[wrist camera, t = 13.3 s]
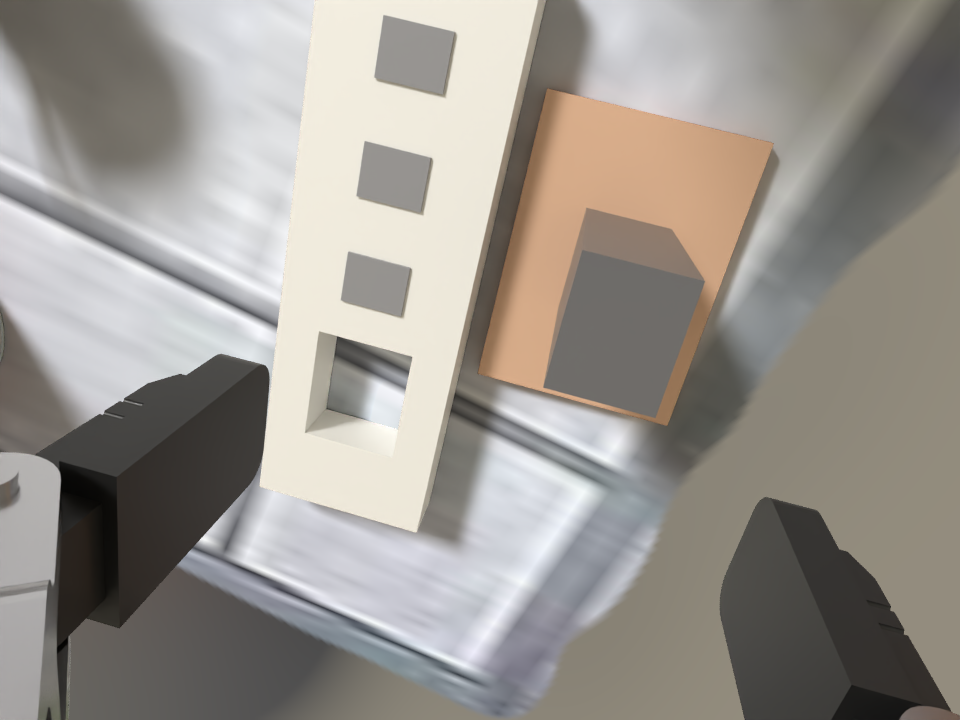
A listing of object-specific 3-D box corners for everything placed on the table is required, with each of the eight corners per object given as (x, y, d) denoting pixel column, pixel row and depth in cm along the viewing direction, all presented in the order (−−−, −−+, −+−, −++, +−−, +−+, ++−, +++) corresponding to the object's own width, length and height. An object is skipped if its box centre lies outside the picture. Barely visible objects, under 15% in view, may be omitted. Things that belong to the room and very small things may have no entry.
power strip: (353, -88, 29) (325, -111, 26) (555, -42, 28) (551, -60, 25) (283, 460, 39) (258, 488, 36) (429, 502, 39) (415, 534, 36)
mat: (548, 88, 30) (547, 88, 29) (769, 142, 29) (774, 143, 28) (480, 367, 35) (477, 373, 34) (665, 419, 34) (667, 425, 34)
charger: (586, 207, 31) (582, 249, 21) (671, 229, 30) (705, 281, 21) (557, 308, 32) (543, 387, 23) (638, 329, 32) (655, 418, 23)
